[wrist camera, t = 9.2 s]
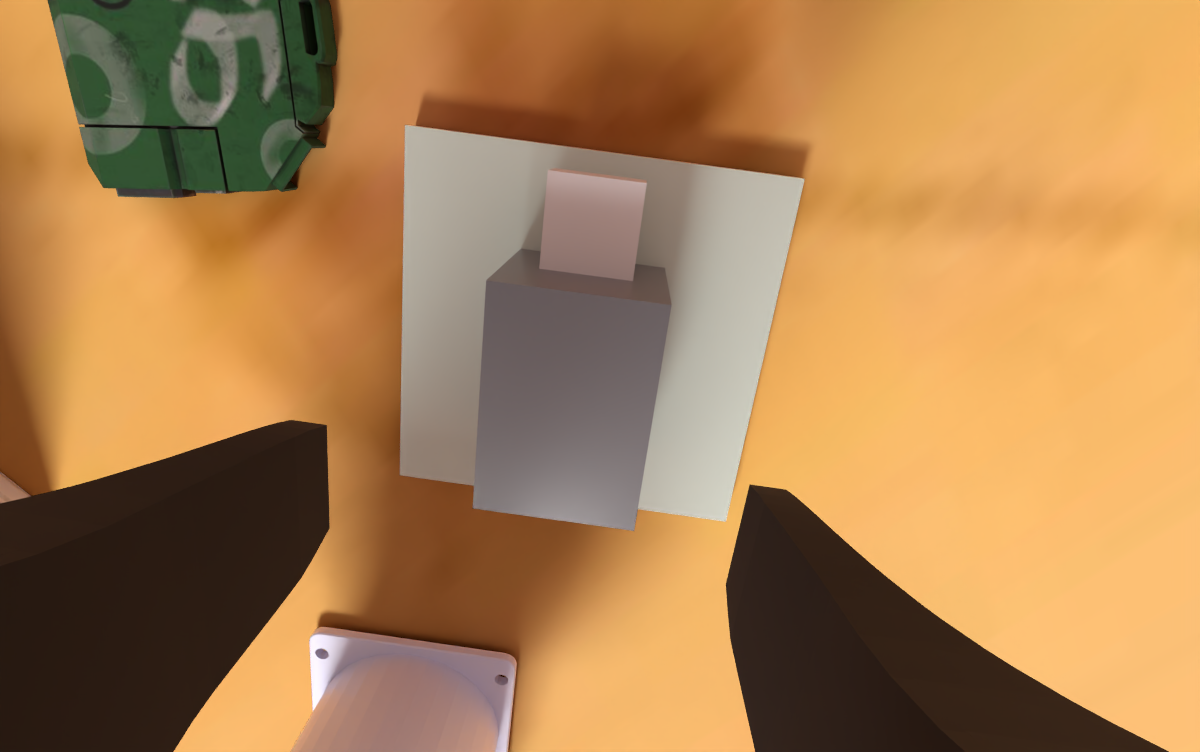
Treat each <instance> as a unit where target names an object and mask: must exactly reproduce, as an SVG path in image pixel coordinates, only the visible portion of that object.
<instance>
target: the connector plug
mask: <svg viewBox="0 0 1200 752" xmlns="http://www.w3.org/2000/svg"><path fill="white" fill-rule="evenodd" d="M646 185H647V181H646V180H642V179H634V178H627V177H619V176H611V175H604V174H596V173H589V172H581V171H573V170H566V169H558V168H553V169H550V170H548V174H547V185H546V197H545V208H544V219H543V231H542V242H541V251H534V250H527V249H520V250H519V251H518V252H517V253H516V254H514V255H513V256H512V257H511V258H510V259H509V260H508V261H507V262H506V263H505V264H503V265H502V266H501V267H500V268H499V269H498V270H497V271H496V272H495V273H494V274H493V275H491V276H490V277H489V278H488V279H487V280H486V291H485V308H484V325H483V342H482V359H481V376H480V393H479V410H478V427H477V443H476V460H475V477H474V494H473V509H481V510H488V511H495V512H502V513H509V514H516V515H524V516H531V517H538V518H545V519H552V520H559V521H567V522H574V523H581V524H588V525H595V526H603V527H610V528H617V529H624V530H631V531H634V528H635V522H636V516H637V510H638V504H639V498H640V492H641V486H642V480H643V474H644V468H645V462H646V456H647V450H648V444H649V438H650V432H651V426H652V420H653V414H654V408H655V402H656V396H657V390H658V384H659V378H660V372H661V366H662V360H663V354H664V348H665V342H666V336H667V330H668V324H669V318H670V312H671V306H672V304H671V299H670V293H669V288H668V282H667V277H666V271H665V268H662V267H654V266H647V265H639V264H635V263H636V256H637V249H638V242H639V235H640V228H641V221H642V214H643V207H644V199H645V192H646Z"/></svg>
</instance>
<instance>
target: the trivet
mask: <svg viewBox="0 0 1200 752" xmlns="http://www.w3.org/2000/svg"><path fill="white" fill-rule="evenodd" d="M553 168H558V169H566V170H573V171H581V172H589V173H596V174H604V175H611V176H619V177H627V178H634V179H642V180H646V181H647V185H646V192H645V199H644V207H643V214H642V221H641V228H640V235H639V242H638V249H637V256H636V263H635V264H639V265H647V266H654V267H662V268H665V271H666V277H667V282H668V288H669V293H670V299H671V304H672V306H671V312H670V318H669V324H668V330H667V336H666V342H665V348H664V354H663V360H662V366H661V372H660V378H659V384H658V390H657V396H656V402H655V408H654V414H653V420H652V426H651V432H650V438H649V444H648V450H647V456H646V462H645V468H644V474H643V480H642V486H641V492H640V498H639V504H638V509H641V510H648V511H655V512H662V513H669V514H676V515H683V516H690V517H697V518H704V519H711V520H718V521H725V522H726V519H727V514H728V510H729V506H730V501H731V497H732V493H733V488H734V484H735V480H736V475H737V471H738V466H739V462H740V458H741V453H742V449H743V445H744V440H745V436H746V432H747V427H748V423H749V419H750V414H751V410H752V406H753V401H754V397H755V393H756V388H757V384H758V380H759V375H760V371H761V367H762V362H763V358H764V354H765V349H766V345H767V341H768V336H769V332H770V328H771V323H772V319H773V314H774V310H775V306H776V301H777V297H778V293H779V288H780V284H781V280H782V275H783V271H784V267H785V262H786V258H787V254H788V249H789V245H790V241H791V236H792V232H793V228H794V223H795V219H796V215H797V210H798V206H799V202H800V197H801V193H802V189H803V184H804V180H805V179H803V178H799V177H793V176H785V175H778V174H771V173H763V172H756V171H748V170H741V169H734V168H726V167H719V166H711V165H704V164H697V163H689V162H682V161H674V160H667V159H659V158H652V157H645V156H637V155H630V154H622V153H615V152H608V151H600V150H593V149H585V148H578V147H571V146H563V145H556V144H548V143H541V142H534V141H526V140H519V139H511V138H504V137H496V136H489V135H482V134H474V133H467V132H459V131H452V130H445V129H437V128H430V127H422V126H415V125H405V164H404V229H403V295H402V360H401V425H400V475H402V476H409V477H416V478H423V479H430V480H437V481H444V482H451V483H458V484H465V485H472V486H474V477H475V460H476V443H477V427H478V410H479V393H480V376H481V359H482V342H483V325H484V308H485V291H486V280H487V279H488V278H489V277H490V276H491V275H493V274H494V273H495V272H496V271H497V270H498V269H499V268H500V267H501V266H502V265H503V264H505V263H506V262H507V261H508V260H509V259H510V258H511V257H512V256H513V255H514V254H516V253H517V252H518V251H519V250H520V249H527V250H534V251H541V242H542V231H543V219H544V208H545V197H546V185H547V174H548V170H550V169H553Z"/></svg>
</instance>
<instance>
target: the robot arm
mask: <svg viewBox="0 0 1200 752" xmlns="http://www.w3.org/2000/svg"><path fill="white" fill-rule="evenodd" d="M328 530H329V492H328V457H327V425H322V424H315V423H308V422H301V421H294V420H289V421H284V422H279V423H275V424H271V425H268V426H264V427H261V428H258V429H254V430H251V431H248V432H245V433H242V434H239V435H236V436H233V437H230V438H227V439H224V440H221V441H218V442H215V443H212V444H209V445H206V446H203V447H199V448H196V449H193V450H190V451H187V452H184V453H181V454H178V455H175V456H172V457H169V458H166V459H163V460H160V461H156V462H153V463H150V464H146V465H143V466H140V467H137V468H133V469H130V470H127V471H123V472H120V473H117V474H113V475H110V476H107V477H103V478H100V479H97V480H93V481H90V482H86V483H82V484H79V485H75V486H71V487H67V488H63V489H59V490H56V491H52V492H47V493H43V494H39V495H35V496H30V497H26V498H22V499H17V500H13V501H9V502H4V503H0V752H173V751H174V750H175V748H176V747H177V745H178V744H179V742H180V740H181V739H182V737H183V736H184V734H185V732H186V731H187V729H188V728H189V726H190V725H191V723H192V721H193V720H194V718H195V717H196V716H197V714H198V713H199V711H200V710H201V709H202V707H203V706H204V704H205V703H206V702H207V700H208V699H209V697H210V696H211V695H212V693H213V692H214V691H215V689H216V688H217V687H218V685H219V684H220V683H221V682H222V680H223V679H224V678H225V676H226V675H227V674H228V673H229V671H230V670H231V669H232V667H233V666H234V665H235V664H236V662H237V661H238V660H239V658H240V657H241V656H242V655H243V653H244V652H245V651H246V649H247V648H248V647H249V646H250V644H251V643H252V642H253V640H254V639H255V638H256V636H257V635H258V634H259V633H260V631H261V630H262V629H263V627H264V626H265V625H266V624H267V622H268V621H269V620H270V618H271V617H272V616H273V615H274V613H275V612H276V611H277V609H278V608H279V607H280V605H281V604H282V603H283V601H284V600H285V599H286V598H287V596H288V595H289V594H290V592H291V591H292V590H293V588H294V587H295V586H296V584H297V583H298V581H299V580H300V579H301V577H302V576H303V574H304V572H305V571H306V569H307V567H308V566H309V564H310V562H311V561H312V559H313V557H314V555H315V554H316V552H317V550H318V548H319V546H320V544H321V543H322V541H323V539H324V537H325V535H326V533H327V532H328ZM726 592H727V606H728V618H729V629H730V639H731V644H732V649H733V653H734V658H735V663H736V667H737V672H738V676H739V681H740V686H741V690H742V695H743V699H744V703H745V708H746V712H747V717H748V721H749V726H750V730H751V735H752V739H753V743H754V748H755V752H1168V751H1166V750H1164V749H1162V748H1161V747H1159V746H1157V745H1155V744H1153V743H1151V742H1149V741H1147V740H1145V739H1143V738H1141V737H1139V736H1137V735H1135V734H1133V733H1131V732H1129V731H1127V730H1125V729H1123V728H1121V727H1119V726H1117V725H1115V724H1113V723H1111V722H1109V721H1107V720H1106V719H1104V718H1102V717H1100V716H1098V715H1096V714H1095V713H1093V712H1091V711H1089V710H1087V709H1085V708H1083V707H1082V706H1080V705H1078V704H1076V703H1074V702H1072V701H1071V700H1069V699H1067V698H1065V697H1064V696H1062V695H1060V694H1058V693H1057V692H1055V691H1053V690H1052V689H1050V688H1048V687H1047V686H1045V685H1043V684H1041V683H1040V682H1038V681H1036V680H1035V679H1033V678H1031V677H1030V676H1028V675H1026V674H1024V673H1023V672H1021V671H1019V670H1018V669H1016V668H1014V667H1013V666H1011V665H1009V664H1008V663H1006V662H1005V661H1003V660H1002V659H1000V658H998V657H997V656H995V655H994V654H992V653H990V652H989V651H987V650H986V649H984V648H983V647H981V646H980V645H978V644H977V643H975V642H974V641H972V640H971V639H970V638H968V637H967V636H965V635H964V634H962V633H961V632H959V631H958V630H956V629H955V628H953V627H952V626H951V625H949V624H948V623H946V622H945V621H943V620H942V619H940V618H939V617H938V616H936V615H935V614H934V613H932V612H931V611H929V610H928V609H927V608H925V607H924V606H923V605H921V604H920V603H919V602H917V601H916V600H915V599H914V598H912V597H911V596H910V595H909V594H907V593H906V592H905V591H904V590H902V589H901V588H900V587H898V586H897V585H896V584H895V583H893V582H892V581H891V580H890V579H888V578H887V577H886V576H885V575H884V574H882V573H881V572H880V571H879V570H878V569H876V568H875V567H874V566H873V565H872V564H870V563H869V562H868V561H867V560H866V559H865V558H863V557H862V556H861V555H860V554H859V553H858V552H857V551H855V550H854V549H853V548H852V547H851V546H850V545H849V544H848V543H846V542H845V541H844V540H843V539H842V538H841V537H840V536H839V535H838V534H836V533H835V532H834V531H833V530H832V529H831V528H830V527H829V526H828V525H826V524H825V523H824V522H823V521H822V520H821V519H820V518H819V517H818V516H817V515H816V514H814V513H813V512H812V511H811V510H810V509H809V508H808V507H807V506H805V505H804V504H803V503H802V502H801V501H800V500H799V499H797V498H796V497H795V496H794V495H792V494H791V493H790V492H788V491H787V490H784V489H777V488H770V487H763V486H756V485H750V486H749V490H748V494H747V498H746V503H745V507H744V511H743V515H742V519H741V523H740V528H739V532H738V536H737V540H736V544H735V549H734V553H733V557H732V561H731V565H730V569H729V574H728V578H727V582H726ZM309 644H310V665H311V686H312V707H313V712H312V714H311V716H310V718H309V719H308V721H307V723H306V725H305V726H304V728H303V730H302V732H301V733H300V735H299V737H298V739H297V740H296V742H295V744H294V746H293V747H292V749H291V751H290V752H508V746H509V736H510V727H511V717H512V707H513V697H514V688H515V678H516V668H517V663H516V660H515V658H514V657H513V656H511V655H510V654H507V653H501V652H495V651H488V650H481V649H474V648H467V647H460V646H453V645H446V644H440V643H433V642H426V641H419V640H412V639H405V638H398V637H391V636H385V635H378V634H371V633H364V632H357V631H350V630H343V629H336V628H330V627H319V628H317V629H316V630H315V631H314V632H313V634H312V635H311V637H310V640H309ZM323 649H325V650H326V651H324V650H323ZM499 675H504V676H506V677H501V676H499Z"/></svg>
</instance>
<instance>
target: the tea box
mask: <svg viewBox="0 0 1200 752" xmlns="http://www.w3.org/2000/svg"><path fill="white" fill-rule="evenodd" d="M26 497H30V495H29V494H28V493H27V492H25V491H24V490H23V489H22V488H20V487H19V486H18V485H17V484H15V483H14V482H13V481H12V480H10V479H9V478H8V477H7V476H5V475H4V474H3V473H1V472H0V503H4V502H9V501H13V500H17V499H22V498H26Z"/></svg>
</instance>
